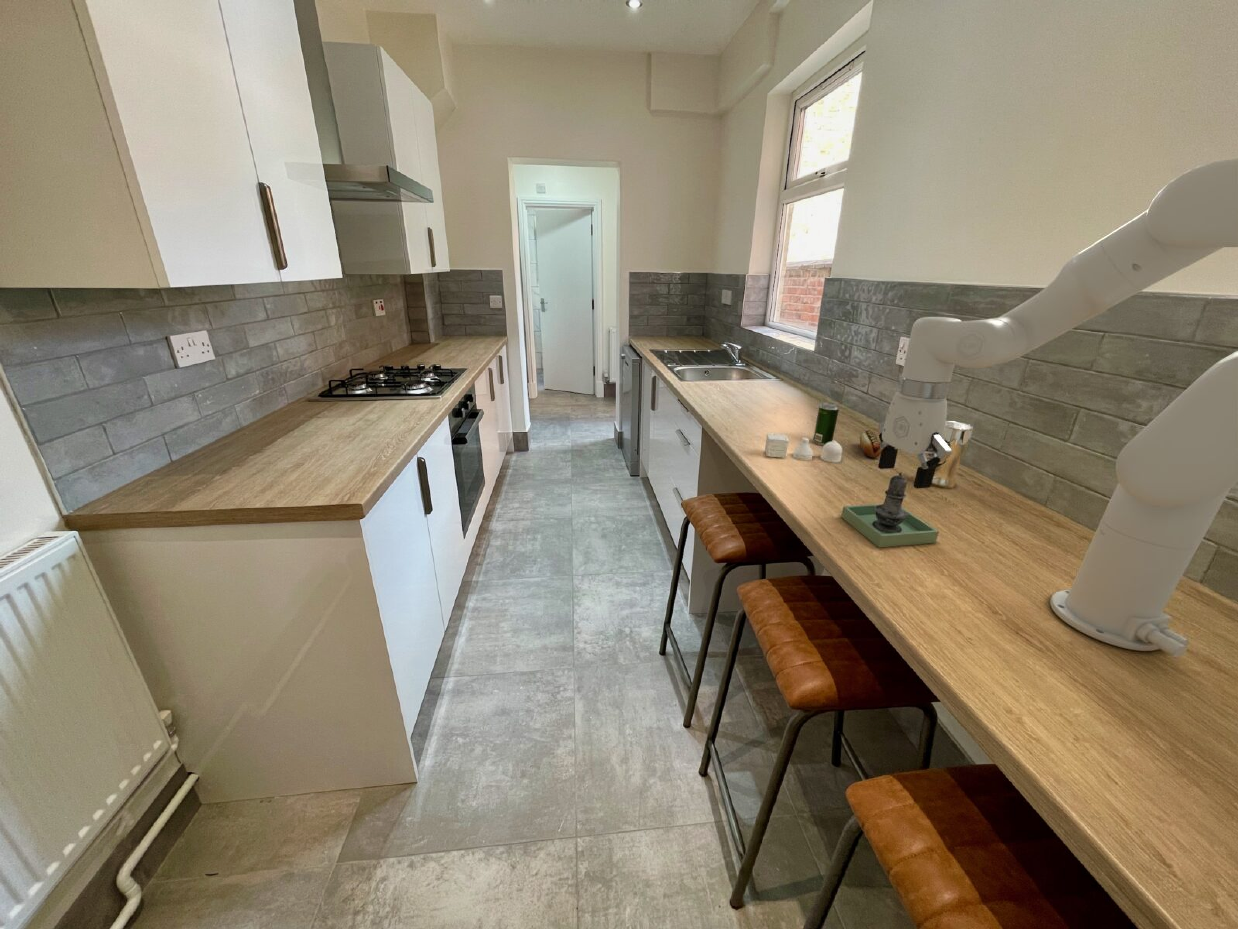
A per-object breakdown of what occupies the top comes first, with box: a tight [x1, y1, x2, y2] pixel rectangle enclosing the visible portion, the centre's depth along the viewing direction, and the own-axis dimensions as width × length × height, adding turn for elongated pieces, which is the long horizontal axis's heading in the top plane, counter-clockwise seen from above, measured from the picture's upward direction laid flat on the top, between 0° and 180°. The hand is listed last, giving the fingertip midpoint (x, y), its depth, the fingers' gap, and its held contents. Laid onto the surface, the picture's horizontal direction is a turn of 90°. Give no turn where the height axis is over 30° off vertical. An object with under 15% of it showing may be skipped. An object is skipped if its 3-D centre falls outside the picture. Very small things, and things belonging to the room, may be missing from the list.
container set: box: [764, 433, 843, 464], centre depth 134 cm, size 20×5×6 cm, turn 81°
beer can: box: [812, 401, 840, 447], centre depth 144 cm, size 5×5×12 cm
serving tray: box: [840, 503, 940, 548], centre depth 98 cm, size 12×12×2 cm
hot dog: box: [859, 430, 882, 458], centre depth 139 cm, size 5×13×5 cm, turn 163°
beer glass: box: [931, 420, 974, 489], centre depth 118 cm, size 7×7×15 cm
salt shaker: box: [872, 471, 908, 534], centre depth 96 cm, size 6×6×12 cm
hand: (902, 477), depth 93 cm, fingers open, 9 cm apart
